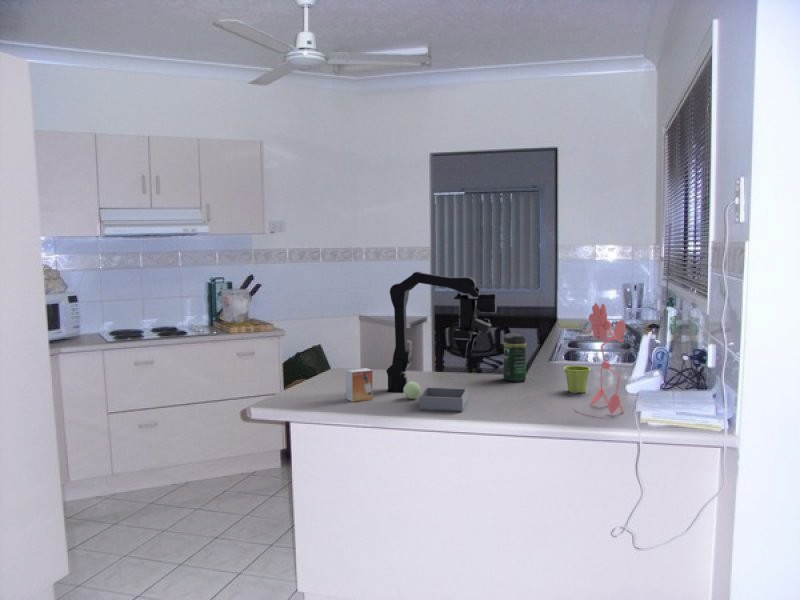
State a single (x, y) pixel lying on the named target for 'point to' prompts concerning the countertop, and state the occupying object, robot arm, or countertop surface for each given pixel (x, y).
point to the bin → (443, 399)
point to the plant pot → (577, 378)
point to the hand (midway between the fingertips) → (466, 355)
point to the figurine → (599, 328)
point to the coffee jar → (514, 357)
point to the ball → (411, 390)
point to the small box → (359, 384)
